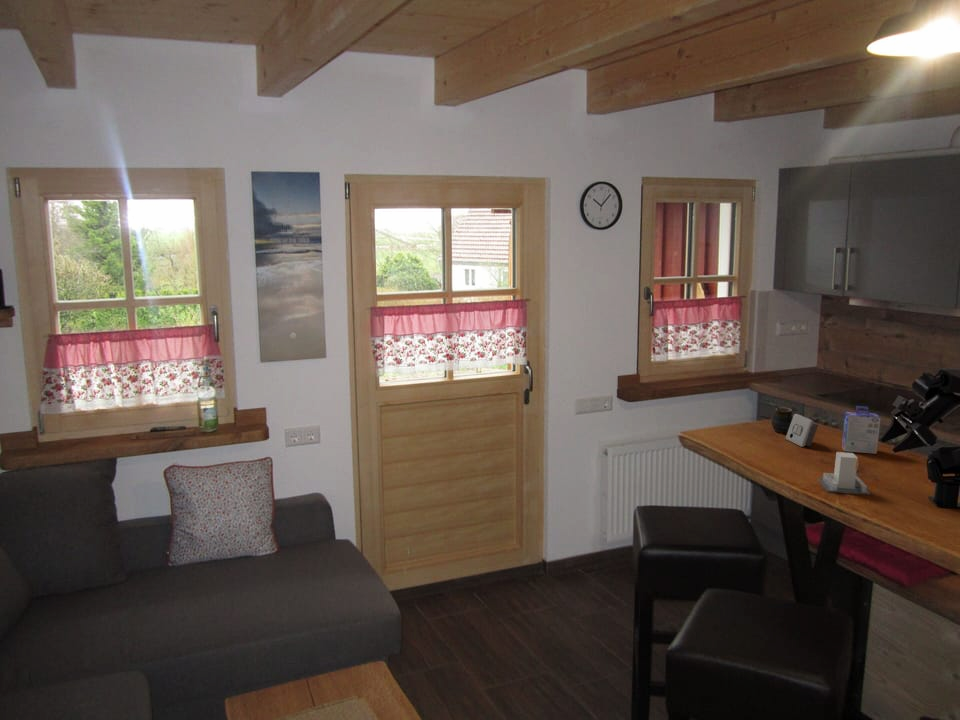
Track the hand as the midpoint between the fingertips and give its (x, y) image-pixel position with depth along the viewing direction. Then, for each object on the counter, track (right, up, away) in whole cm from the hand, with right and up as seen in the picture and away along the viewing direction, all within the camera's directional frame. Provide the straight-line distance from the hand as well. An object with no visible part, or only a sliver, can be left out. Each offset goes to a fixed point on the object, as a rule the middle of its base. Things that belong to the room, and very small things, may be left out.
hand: (887, 446), depth 215 cm
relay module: (-9, -12, +7) cm, 16 cm away
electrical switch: (-4, -4, +48) cm, 48 cm away
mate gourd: (-5, -2, +61) cm, 61 cm away
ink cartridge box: (+12, -6, +41) cm, 43 cm away
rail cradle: (-9, -12, +7) cm, 17 cm away
